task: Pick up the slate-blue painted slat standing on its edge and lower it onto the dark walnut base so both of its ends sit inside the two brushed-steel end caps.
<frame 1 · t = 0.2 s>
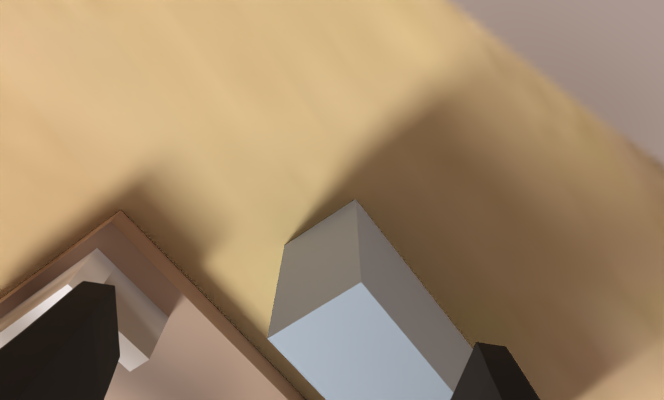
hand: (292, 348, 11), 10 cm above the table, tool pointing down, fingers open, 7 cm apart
slat: (420, 343, 24), on the table
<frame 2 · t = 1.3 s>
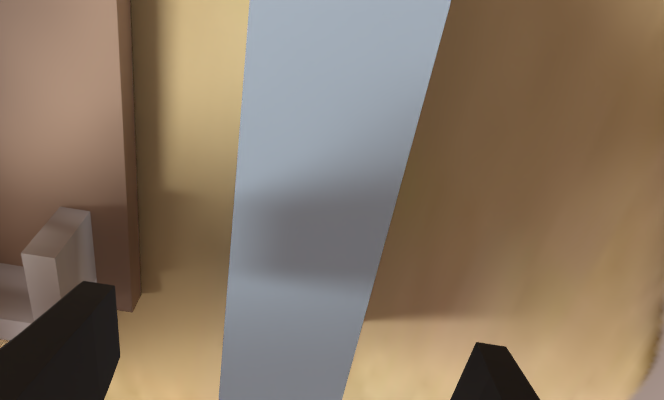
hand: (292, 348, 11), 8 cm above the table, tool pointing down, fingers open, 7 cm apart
slat: (318, 152, 18), on the table
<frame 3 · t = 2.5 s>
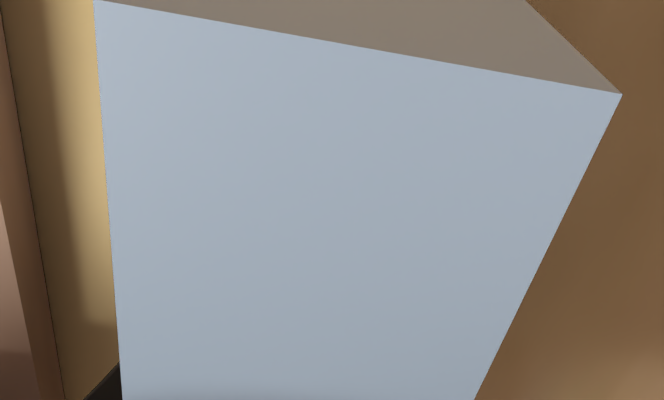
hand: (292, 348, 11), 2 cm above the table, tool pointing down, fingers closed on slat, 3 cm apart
slat: (301, 282, 13), on the table, touching gripper
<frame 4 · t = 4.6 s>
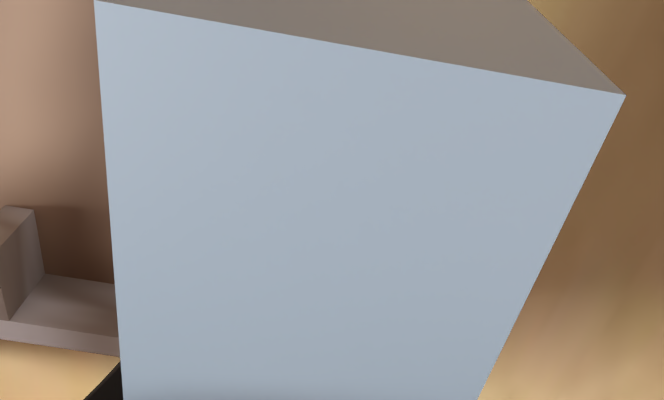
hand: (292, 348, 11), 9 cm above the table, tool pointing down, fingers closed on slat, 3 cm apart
slat: (302, 283, 13), point 7 cm above the table, touching gripper
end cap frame: (113, 64, 17), on the table
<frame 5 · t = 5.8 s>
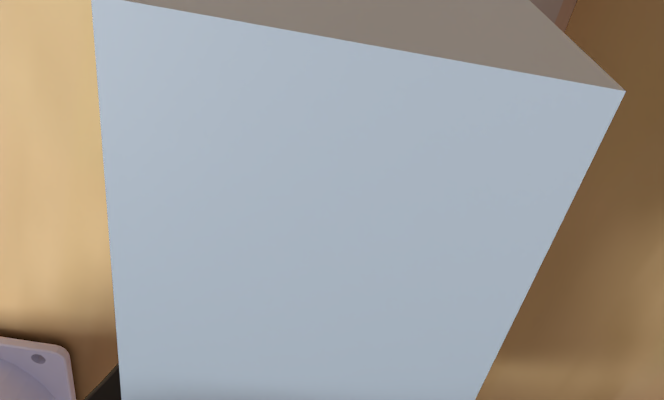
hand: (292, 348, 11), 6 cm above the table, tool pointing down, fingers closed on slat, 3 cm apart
slat: (301, 282, 13), point 4 cm above the table, touching gripper
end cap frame: (314, 187, 16), on the table
when the fingers open (4 cm above the table, at t = 6.7 s): slat stays where it is, resting on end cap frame.
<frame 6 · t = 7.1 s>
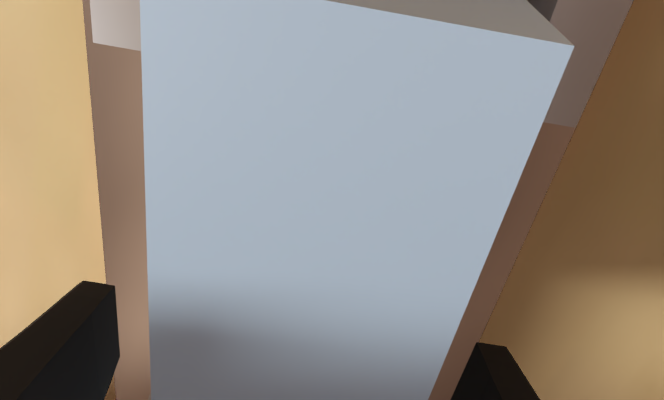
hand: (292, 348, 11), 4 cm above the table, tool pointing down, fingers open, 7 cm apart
slat: (304, 256, 13), point 1 cm above the table, touching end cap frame
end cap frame: (308, 233, 14), on the table
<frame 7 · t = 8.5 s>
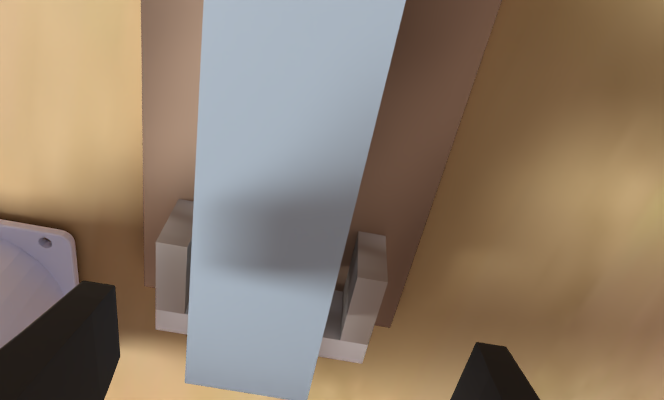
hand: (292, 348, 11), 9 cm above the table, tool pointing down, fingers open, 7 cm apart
slat: (305, 70, 16), point 1 cm above the table, touching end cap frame
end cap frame: (309, 61, 17), on the table
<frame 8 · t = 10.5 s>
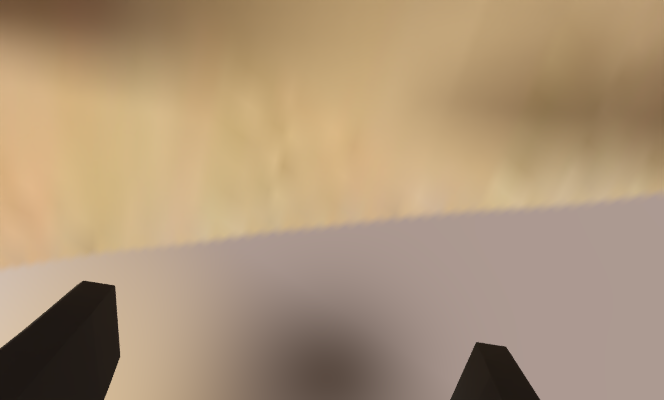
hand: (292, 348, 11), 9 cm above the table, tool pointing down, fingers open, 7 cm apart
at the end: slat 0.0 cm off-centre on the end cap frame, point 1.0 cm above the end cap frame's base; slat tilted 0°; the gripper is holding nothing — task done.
